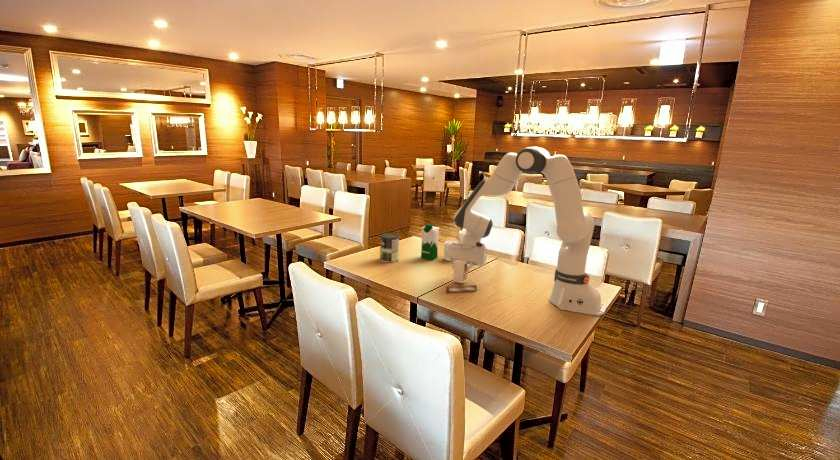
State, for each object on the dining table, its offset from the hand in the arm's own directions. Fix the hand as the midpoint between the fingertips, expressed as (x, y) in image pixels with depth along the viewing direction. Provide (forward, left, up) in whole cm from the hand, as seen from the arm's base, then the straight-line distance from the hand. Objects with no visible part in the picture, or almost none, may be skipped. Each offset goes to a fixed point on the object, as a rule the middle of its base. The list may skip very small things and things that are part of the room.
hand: (460, 269), depth 182 cm
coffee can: (+47, -9, -7) cm, 48 cm away
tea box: (0, -1, -6) cm, 6 cm away
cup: (+16, -46, -7) cm, 49 cm away
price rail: (-5, +9, -7) cm, 12 cm away
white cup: (+20, -31, -7) cm, 37 cm away
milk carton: (+31, -26, -7) cm, 41 cm away
